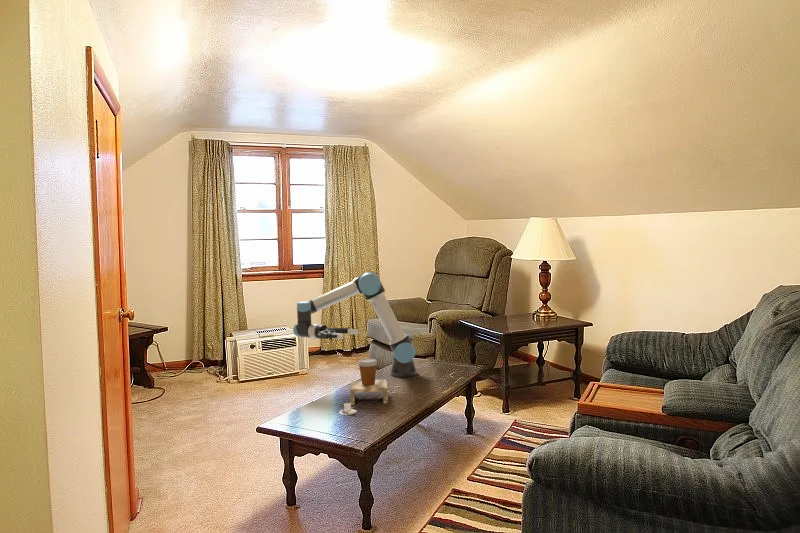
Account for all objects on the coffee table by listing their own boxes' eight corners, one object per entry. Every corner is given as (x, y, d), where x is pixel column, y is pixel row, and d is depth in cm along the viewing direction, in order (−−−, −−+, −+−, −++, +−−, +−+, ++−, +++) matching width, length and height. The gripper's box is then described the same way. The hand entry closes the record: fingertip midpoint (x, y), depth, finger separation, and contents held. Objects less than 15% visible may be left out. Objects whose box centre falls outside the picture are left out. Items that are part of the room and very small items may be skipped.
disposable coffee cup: (375, 387, 274) (374, 362, 273) (356, 386, 276) (355, 362, 275) (379, 381, 283) (379, 358, 283) (361, 381, 285) (360, 357, 284)
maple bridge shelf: (386, 393, 288) (385, 379, 288) (387, 403, 272) (387, 387, 272) (350, 395, 287) (350, 380, 287) (350, 405, 271) (350, 389, 271)
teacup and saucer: (357, 415, 257) (357, 406, 257) (340, 416, 256) (339, 408, 255) (355, 409, 266) (355, 400, 265) (338, 410, 264) (338, 402, 264)
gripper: (333, 334, 315) (364, 337, 304) (303, 342, 294) (336, 345, 283) (332, 321, 315) (363, 323, 304) (303, 328, 293) (335, 331, 282)
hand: (350, 334), depth 293 cm, fingers open, 13 cm apart
